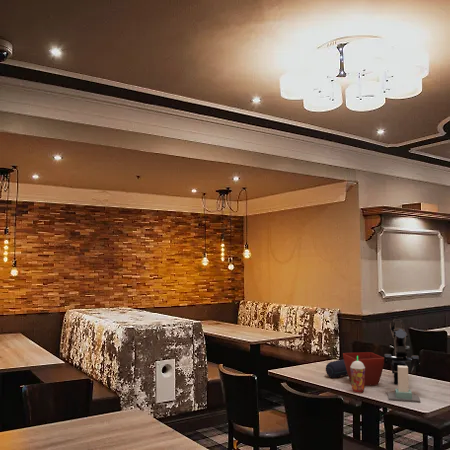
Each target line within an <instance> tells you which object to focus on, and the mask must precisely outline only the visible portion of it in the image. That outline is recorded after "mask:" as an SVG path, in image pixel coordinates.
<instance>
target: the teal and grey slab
mask: <svg viewBox="0 0 450 450" xmlns="http://www.w3.org/2000/svg"><path fill="white" fill-rule="evenodd" d="M408 390H409V392H399V391H398V388H395V389H394V391H387V400H388V401H391V402H393V401H394V402H395V401H396V402H404V403H405V402H407V403H418V404H419V403H420V404H421V399H420V396H419V394H418V393H413V392H412V389H408Z"/></svg>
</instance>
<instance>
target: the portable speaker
mask: <svg viewBox="0 0 450 450" xmlns="http://www.w3.org/2000/svg"><path fill="white" fill-rule="evenodd" d="M325 372H326V375H327V376H328V377H329V378H332V379H336V378H340V377H344V376H348V373H347V370H346V366H345V362H344V358H342V359H338V360H334V361H330V362H328V363H327V364H326V366H325Z"/></svg>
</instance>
